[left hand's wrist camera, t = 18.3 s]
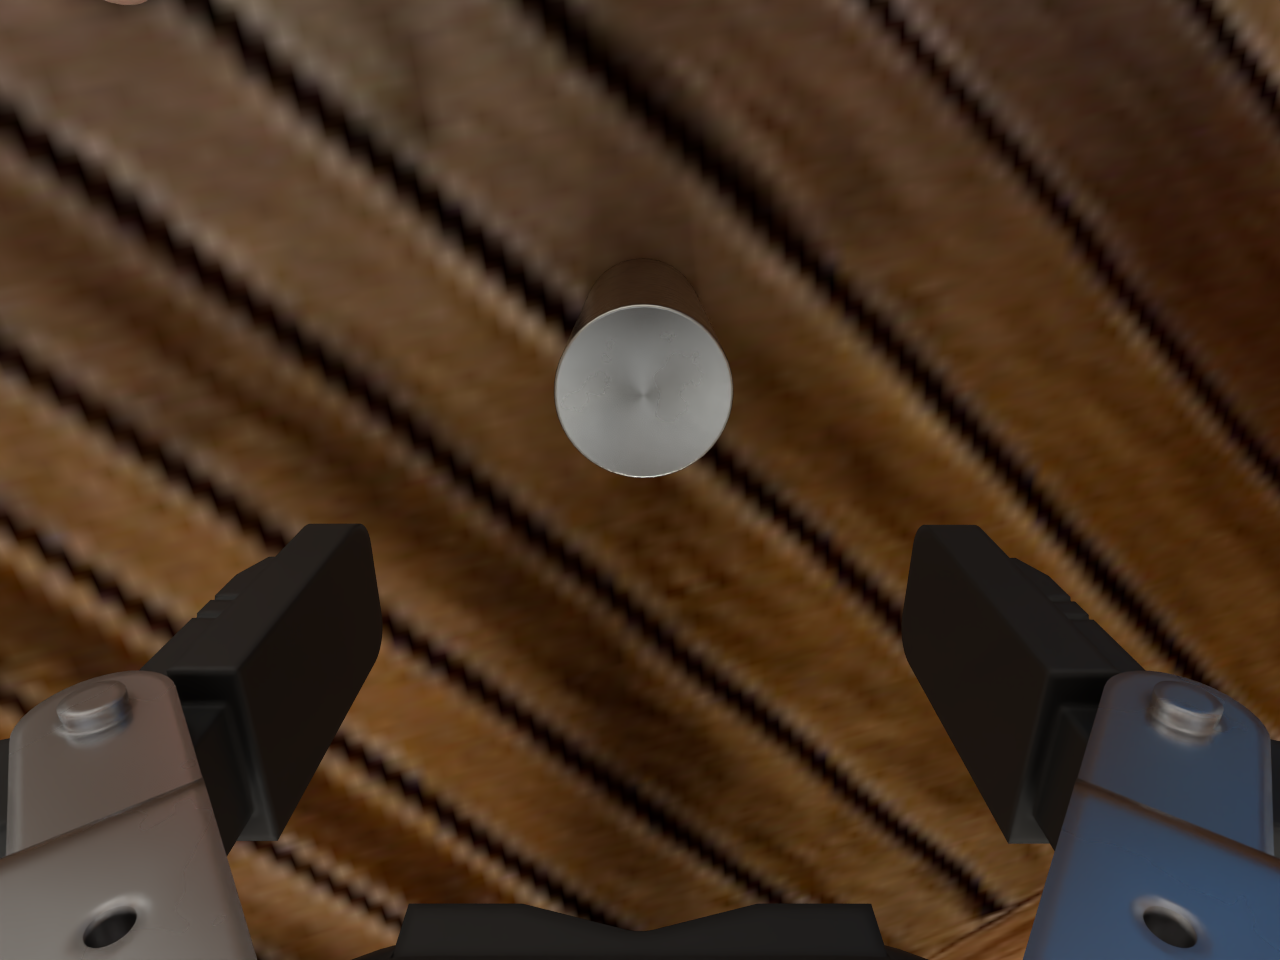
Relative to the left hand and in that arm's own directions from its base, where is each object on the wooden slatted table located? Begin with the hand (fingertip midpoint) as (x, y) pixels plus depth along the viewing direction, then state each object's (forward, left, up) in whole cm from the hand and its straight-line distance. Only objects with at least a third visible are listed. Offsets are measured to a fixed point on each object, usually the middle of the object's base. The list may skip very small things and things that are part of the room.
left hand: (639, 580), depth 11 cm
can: (0, 0, -22) cm, 23 cm away
